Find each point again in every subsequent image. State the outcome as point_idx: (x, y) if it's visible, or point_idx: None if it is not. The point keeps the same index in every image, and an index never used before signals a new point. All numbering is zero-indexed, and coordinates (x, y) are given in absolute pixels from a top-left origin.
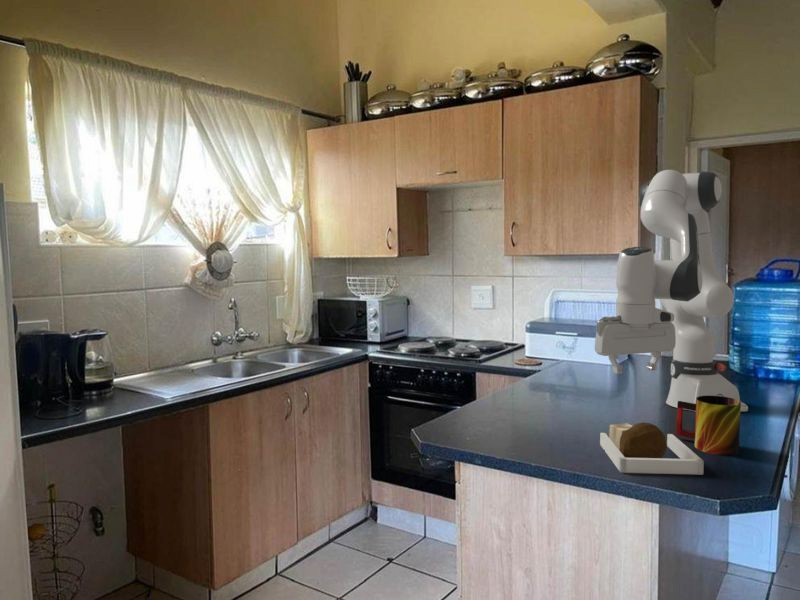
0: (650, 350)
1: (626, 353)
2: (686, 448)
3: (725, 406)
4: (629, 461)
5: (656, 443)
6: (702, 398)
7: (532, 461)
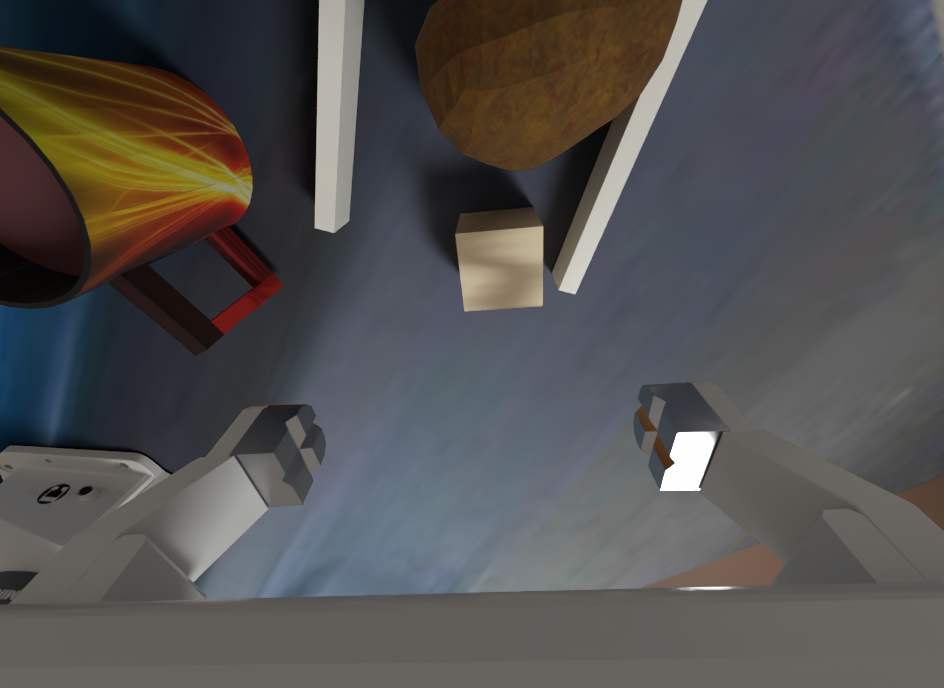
0: (178, 647)
1: (792, 602)
2: (331, 4)
3: None
4: None
5: None
6: (61, 295)
7: (930, 153)
